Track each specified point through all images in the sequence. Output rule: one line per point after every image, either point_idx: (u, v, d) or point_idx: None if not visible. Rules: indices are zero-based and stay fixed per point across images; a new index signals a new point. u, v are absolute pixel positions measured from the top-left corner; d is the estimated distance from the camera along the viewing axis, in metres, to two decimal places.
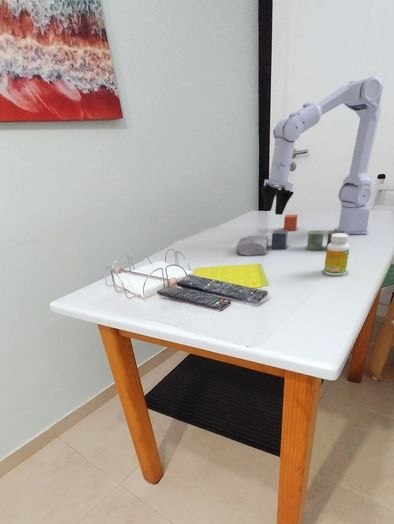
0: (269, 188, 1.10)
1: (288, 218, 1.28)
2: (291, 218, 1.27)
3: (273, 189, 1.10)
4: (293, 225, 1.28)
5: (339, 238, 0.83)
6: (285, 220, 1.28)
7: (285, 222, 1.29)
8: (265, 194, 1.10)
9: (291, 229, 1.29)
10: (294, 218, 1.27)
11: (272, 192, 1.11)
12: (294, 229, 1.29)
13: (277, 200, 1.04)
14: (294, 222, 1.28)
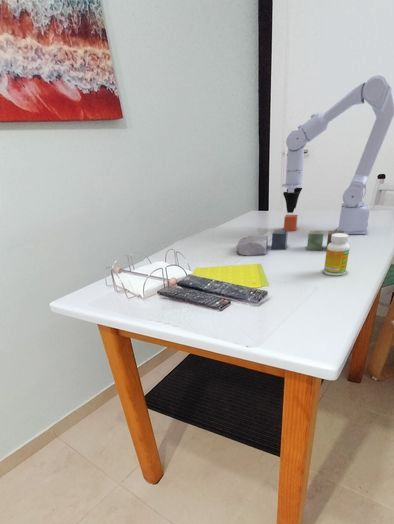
0: None
1: (288, 218, 1.28)
2: (291, 218, 1.27)
3: (296, 190, 1.27)
4: (293, 225, 1.28)
5: (339, 238, 0.83)
6: (285, 220, 1.28)
7: (285, 222, 1.29)
8: None
9: (291, 229, 1.29)
10: (294, 218, 1.27)
11: (295, 192, 1.27)
12: (294, 229, 1.29)
13: None
14: (294, 222, 1.28)
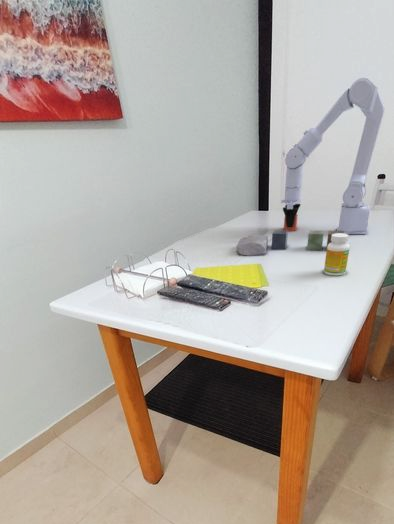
0: None
1: None
2: None
3: (294, 206, 1.29)
4: (293, 225, 1.28)
5: (339, 238, 0.83)
6: (285, 220, 1.28)
7: (285, 222, 1.29)
8: None
9: (291, 229, 1.29)
10: None
11: None
12: (294, 229, 1.29)
13: None
14: (294, 222, 1.28)
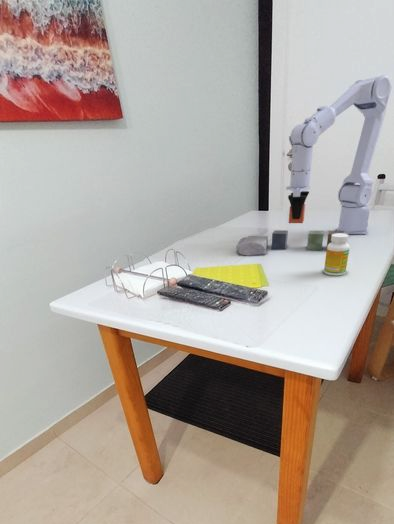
0: None
1: None
2: None
3: (302, 194, 1.08)
4: (300, 216, 1.08)
5: (339, 238, 0.83)
6: (290, 211, 1.08)
7: (290, 213, 1.08)
8: None
9: (297, 221, 1.09)
10: None
11: None
12: (301, 221, 1.09)
13: (291, 205, 1.06)
14: (301, 213, 1.07)
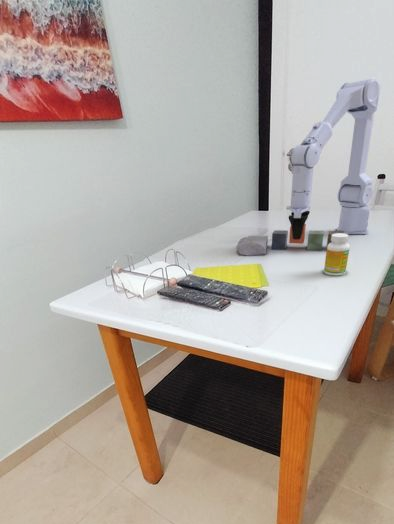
0: None
1: None
2: None
3: (302, 214, 1.06)
4: None
5: (339, 238, 0.83)
6: (291, 231, 1.06)
7: (291, 233, 1.06)
8: None
9: (298, 241, 1.07)
10: None
11: None
12: (302, 241, 1.07)
13: None
14: (302, 233, 1.05)
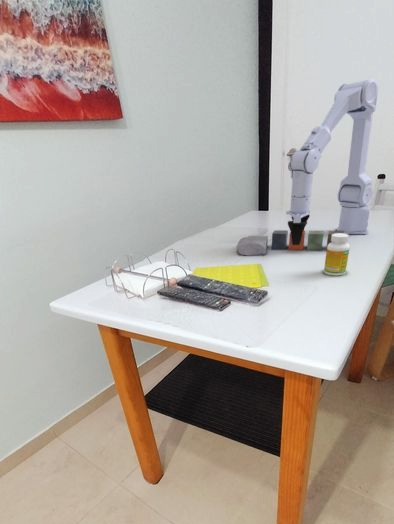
0: None
1: None
2: None
3: (302, 217, 1.08)
4: (300, 243, 1.07)
5: (339, 238, 0.83)
6: (290, 237, 1.07)
7: (290, 240, 1.07)
8: None
9: (297, 248, 1.08)
10: None
11: (301, 220, 1.09)
12: (301, 248, 1.08)
13: None
14: (301, 240, 1.06)
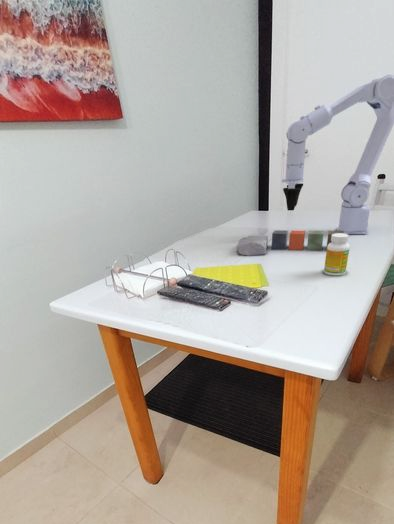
0: None
1: (294, 235, 1.06)
2: (298, 235, 1.06)
3: (297, 186, 1.18)
4: (300, 243, 1.07)
5: (339, 238, 0.83)
6: (290, 237, 1.07)
7: (290, 240, 1.07)
8: None
9: (297, 248, 1.08)
10: (301, 235, 1.06)
11: None
12: (301, 248, 1.08)
13: (286, 197, 1.14)
14: (301, 240, 1.06)
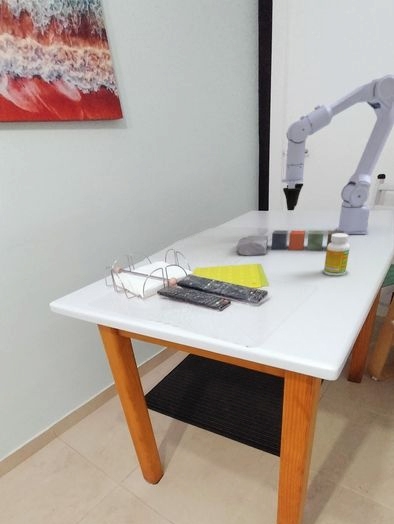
0: None
1: (294, 235, 1.06)
2: (297, 235, 1.06)
3: (297, 186, 1.18)
4: (300, 243, 1.07)
5: (339, 238, 0.83)
6: (290, 237, 1.07)
7: (290, 240, 1.08)
8: None
9: (297, 248, 1.08)
10: (301, 235, 1.06)
11: None
12: (301, 248, 1.08)
13: (286, 197, 1.14)
14: (301, 240, 1.06)
